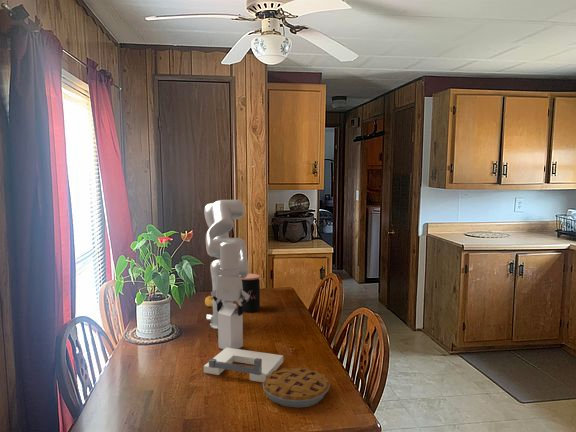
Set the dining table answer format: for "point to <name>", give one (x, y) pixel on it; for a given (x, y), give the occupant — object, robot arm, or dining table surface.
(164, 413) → the dining table surface
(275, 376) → the pie
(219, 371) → the notched board
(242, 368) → the hook rail
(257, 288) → the coffee jar
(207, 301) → the bagel
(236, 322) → the milk carton
